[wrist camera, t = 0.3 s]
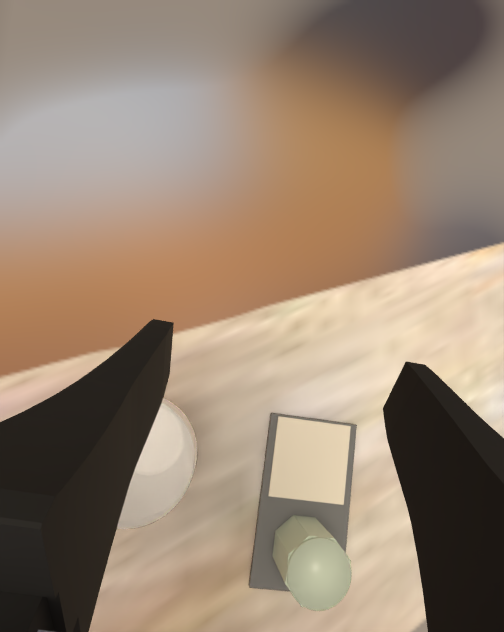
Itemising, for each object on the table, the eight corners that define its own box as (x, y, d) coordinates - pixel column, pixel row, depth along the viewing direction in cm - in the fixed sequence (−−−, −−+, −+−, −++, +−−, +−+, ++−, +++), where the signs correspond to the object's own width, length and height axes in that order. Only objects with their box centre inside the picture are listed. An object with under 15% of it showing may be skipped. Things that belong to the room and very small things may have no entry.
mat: (339, 593, 39) (342, 596, 39) (248, 585, 38) (249, 588, 38) (354, 424, 42) (357, 425, 42) (270, 412, 41) (272, 413, 41)
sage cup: (325, 579, 39) (348, 613, 33) (270, 574, 38) (283, 608, 32) (330, 519, 40) (354, 542, 34) (277, 513, 39) (291, 535, 33)
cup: (199, 393, 41) (201, 395, 29) (193, 488, 39) (193, 531, 27) (106, 390, 39) (69, 391, 28) (96, 487, 38) (52, 532, 26)
